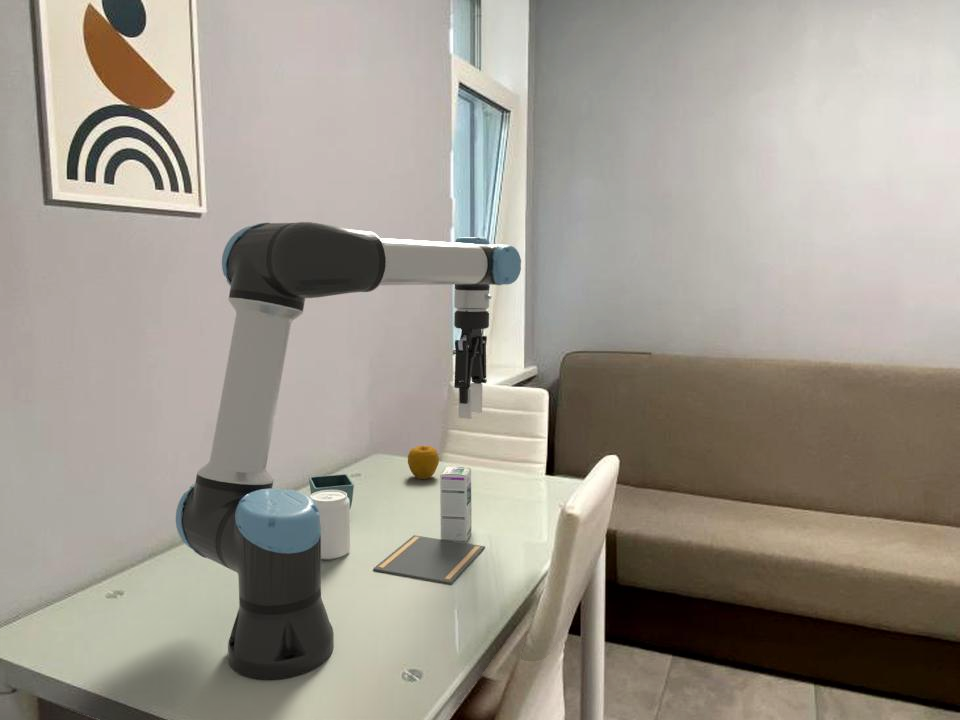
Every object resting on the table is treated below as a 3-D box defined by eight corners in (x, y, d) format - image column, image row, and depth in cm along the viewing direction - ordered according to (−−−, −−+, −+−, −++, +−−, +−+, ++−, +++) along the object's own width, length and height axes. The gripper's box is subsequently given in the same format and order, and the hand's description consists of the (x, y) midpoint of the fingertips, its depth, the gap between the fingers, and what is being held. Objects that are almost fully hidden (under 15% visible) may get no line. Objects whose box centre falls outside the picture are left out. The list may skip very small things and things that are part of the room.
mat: (451, 584, 128) (451, 581, 128) (373, 570, 134) (373, 567, 134) (484, 548, 145) (484, 545, 145) (413, 537, 150) (413, 534, 150)
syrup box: (467, 541, 148) (467, 474, 146) (439, 539, 149) (439, 473, 147) (471, 532, 154) (472, 467, 152) (445, 530, 155) (445, 465, 153)
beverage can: (340, 563, 137) (339, 503, 135) (301, 559, 138) (300, 500, 137) (356, 547, 145) (355, 490, 143) (319, 543, 146) (318, 487, 145)
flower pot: (355, 523, 158) (354, 484, 157) (315, 527, 155) (314, 488, 154) (347, 510, 166) (346, 473, 165) (309, 514, 163) (308, 477, 162)
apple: (427, 471, 199) (427, 440, 198) (445, 478, 193) (445, 446, 191) (401, 476, 194) (401, 444, 193) (419, 484, 187) (419, 451, 186)
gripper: (472, 312, 143) (471, 425, 146) (502, 308, 160) (500, 408, 163) (438, 311, 145) (437, 422, 148) (471, 307, 163) (469, 405, 166)
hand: (470, 414), depth 156 cm, fingers open, 6 cm apart
